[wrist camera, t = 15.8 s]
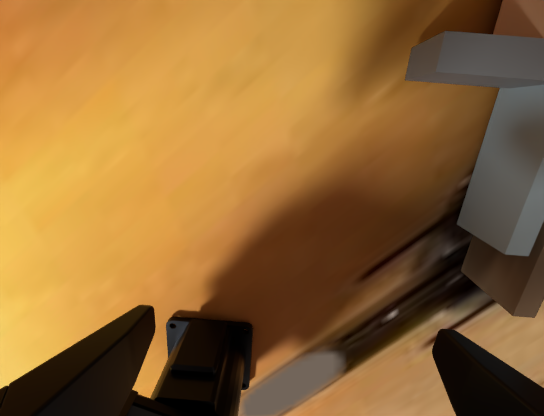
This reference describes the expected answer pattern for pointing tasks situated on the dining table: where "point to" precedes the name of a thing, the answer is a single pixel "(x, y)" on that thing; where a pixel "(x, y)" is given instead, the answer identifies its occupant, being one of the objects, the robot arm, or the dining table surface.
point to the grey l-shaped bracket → (497, 130)
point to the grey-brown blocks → (508, 275)
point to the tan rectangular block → (521, 18)
